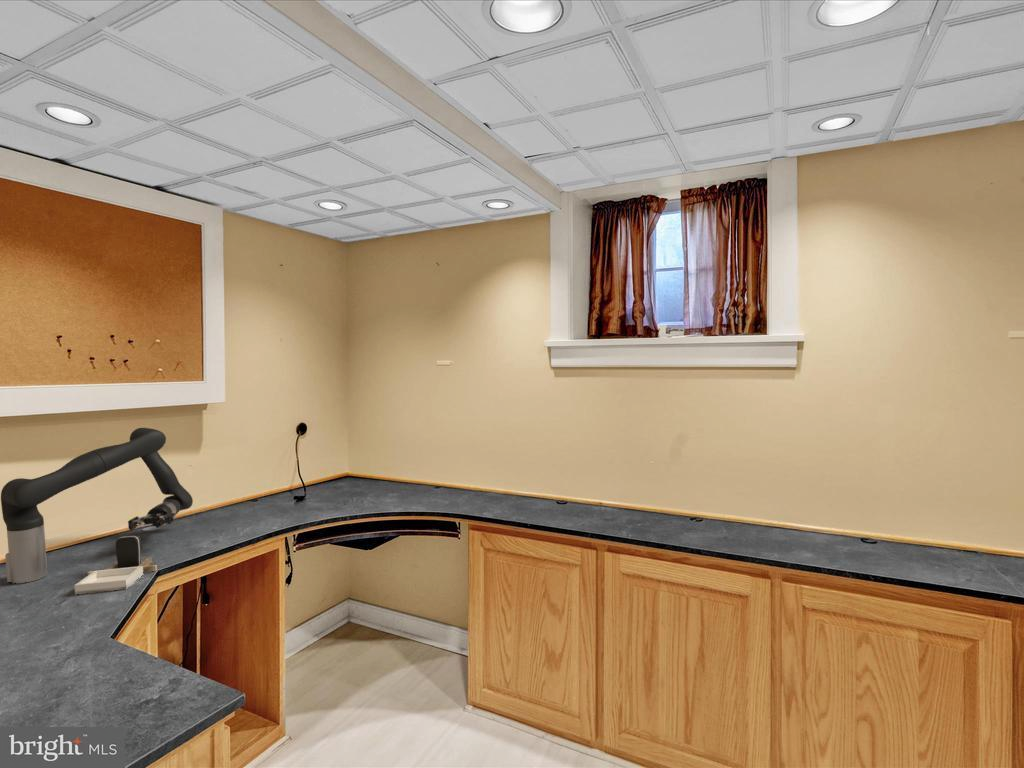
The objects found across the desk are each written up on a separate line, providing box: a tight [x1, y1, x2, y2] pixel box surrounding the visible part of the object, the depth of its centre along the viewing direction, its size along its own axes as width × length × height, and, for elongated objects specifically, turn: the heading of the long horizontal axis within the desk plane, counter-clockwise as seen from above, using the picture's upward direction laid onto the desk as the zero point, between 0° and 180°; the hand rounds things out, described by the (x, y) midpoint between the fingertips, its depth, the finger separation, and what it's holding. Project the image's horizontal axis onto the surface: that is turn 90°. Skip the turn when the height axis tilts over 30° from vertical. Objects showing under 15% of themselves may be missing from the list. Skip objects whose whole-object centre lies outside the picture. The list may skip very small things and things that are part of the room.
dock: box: [87, 557, 158, 576], centre depth 188 cm, size 20×10×2 cm, turn 102°
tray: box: [73, 566, 144, 596], centre depth 176 cm, size 14×12×3 cm
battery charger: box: [115, 534, 143, 568], centre depth 190 cm, size 7×4×11 cm, turn 100°
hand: (143, 526), depth 200 cm, fingers open, 8 cm apart
